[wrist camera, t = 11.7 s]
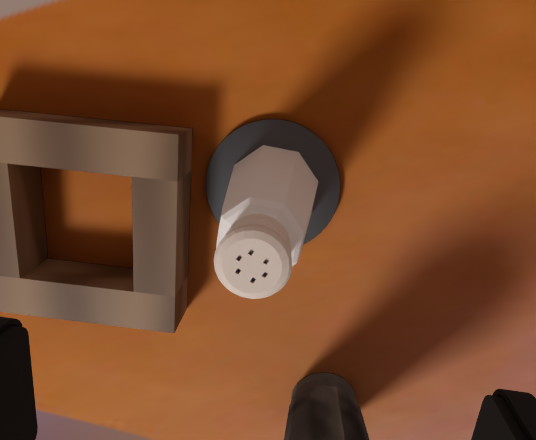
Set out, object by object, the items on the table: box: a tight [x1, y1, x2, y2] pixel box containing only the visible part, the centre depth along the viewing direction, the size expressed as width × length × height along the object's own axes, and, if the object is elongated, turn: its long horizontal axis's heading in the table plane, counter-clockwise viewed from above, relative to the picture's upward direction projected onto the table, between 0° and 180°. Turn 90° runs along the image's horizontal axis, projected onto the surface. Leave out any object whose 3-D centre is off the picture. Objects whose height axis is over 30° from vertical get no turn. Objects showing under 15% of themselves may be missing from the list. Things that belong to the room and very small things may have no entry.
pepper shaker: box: [214, 145, 318, 299], centre depth 20 cm, size 5×5×11 cm
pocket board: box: [0, 109, 193, 333], centre depth 26 cm, size 12×12×3 cm
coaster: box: [206, 119, 340, 244], centre depth 26 cm, size 8×8×1 cm
